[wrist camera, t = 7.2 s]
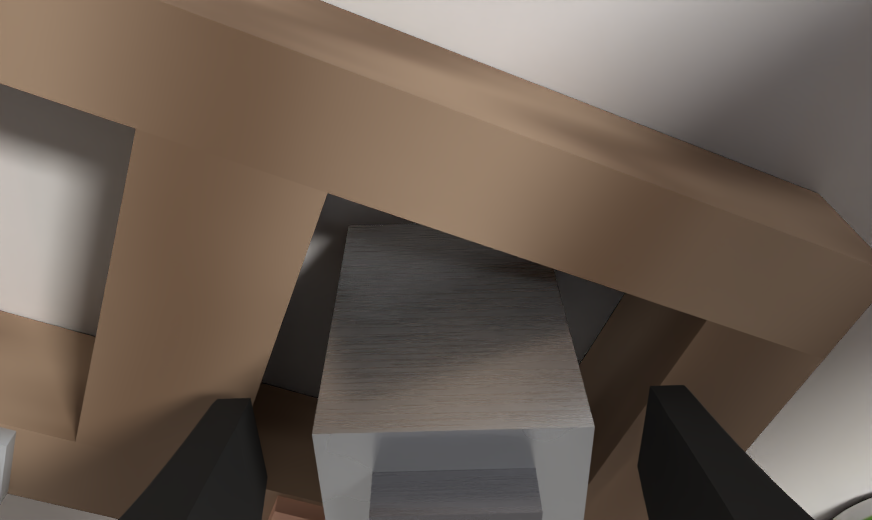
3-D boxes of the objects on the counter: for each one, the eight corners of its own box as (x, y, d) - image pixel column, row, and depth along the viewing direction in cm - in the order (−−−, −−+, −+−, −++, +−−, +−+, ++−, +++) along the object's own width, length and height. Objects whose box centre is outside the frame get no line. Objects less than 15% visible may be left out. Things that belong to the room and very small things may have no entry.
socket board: (819, 193, 15) (909, 287, 13) (573, 525, 21) (597, 644, 18) (-437, -294, 11) (-744, -322, 8) (-333, 290, 16) (-494, 398, 13)
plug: (540, 220, 16) (606, 470, 10) (532, 367, 18) (582, 644, 12) (348, 225, 16) (303, 478, 10) (363, 372, 18) (333, 650, 12)
